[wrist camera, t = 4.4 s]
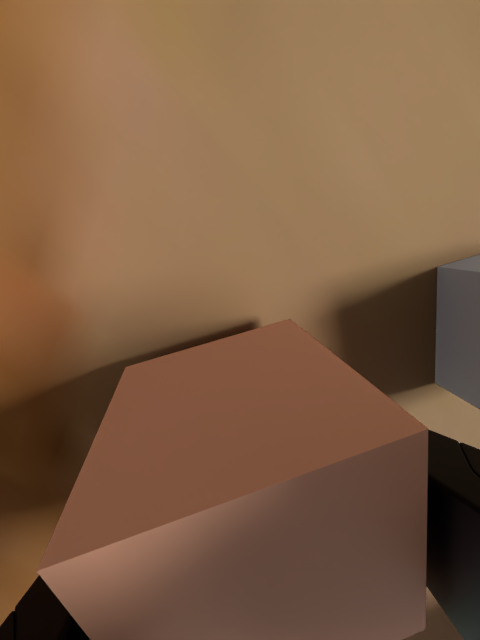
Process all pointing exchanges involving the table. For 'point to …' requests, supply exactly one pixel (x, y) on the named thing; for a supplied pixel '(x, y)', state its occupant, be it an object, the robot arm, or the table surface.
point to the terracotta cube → (247, 501)
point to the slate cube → (459, 329)
